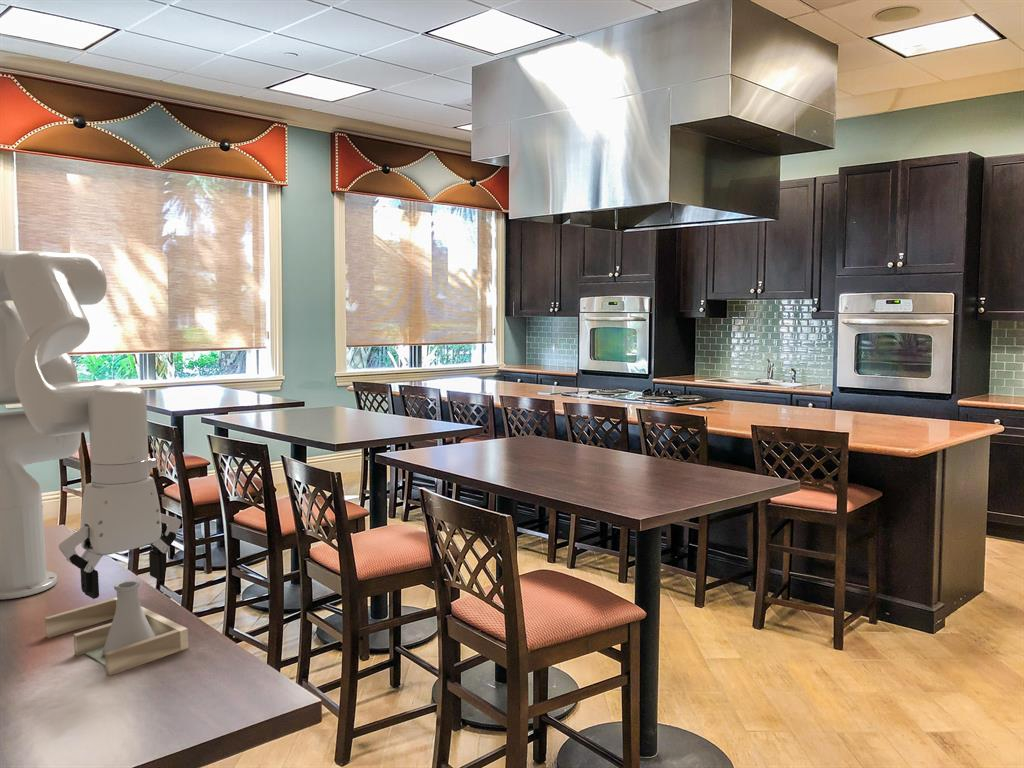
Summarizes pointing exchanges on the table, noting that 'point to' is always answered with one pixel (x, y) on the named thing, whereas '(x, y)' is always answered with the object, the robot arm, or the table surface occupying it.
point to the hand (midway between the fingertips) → (125, 586)
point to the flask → (127, 619)
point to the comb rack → (93, 640)
